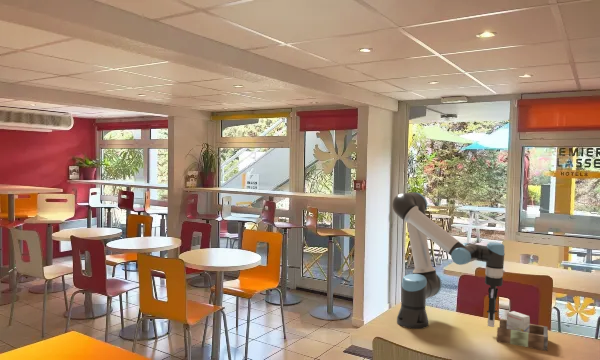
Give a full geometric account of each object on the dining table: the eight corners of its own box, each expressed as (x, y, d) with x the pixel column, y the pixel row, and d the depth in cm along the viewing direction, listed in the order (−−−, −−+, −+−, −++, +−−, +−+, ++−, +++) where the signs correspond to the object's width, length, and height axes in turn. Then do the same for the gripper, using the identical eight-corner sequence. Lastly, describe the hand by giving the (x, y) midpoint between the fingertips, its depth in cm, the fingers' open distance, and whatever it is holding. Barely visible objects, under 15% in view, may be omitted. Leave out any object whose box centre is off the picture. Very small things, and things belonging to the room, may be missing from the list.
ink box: (529, 342, 208) (531, 316, 207) (522, 344, 205) (524, 317, 205) (512, 335, 215) (513, 310, 215) (505, 337, 213) (506, 312, 212)
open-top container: (496, 341, 207) (497, 328, 207) (499, 331, 221) (499, 318, 221) (547, 350, 198) (547, 337, 198) (546, 339, 212) (547, 326, 211)
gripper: (501, 280, 207) (498, 332, 208) (503, 274, 219) (500, 323, 220) (483, 277, 210) (480, 328, 212) (486, 272, 222) (483, 320, 223)
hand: (490, 326), depth 216 cm, fingers closed
